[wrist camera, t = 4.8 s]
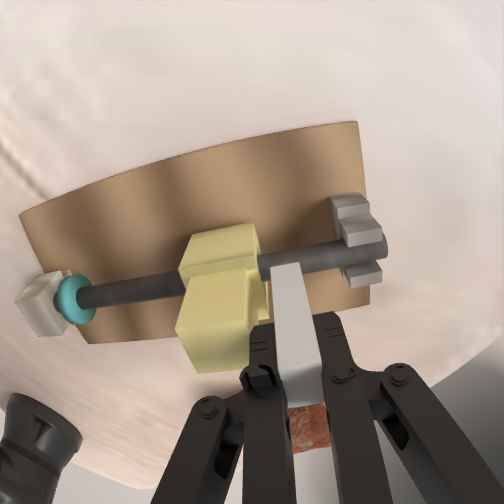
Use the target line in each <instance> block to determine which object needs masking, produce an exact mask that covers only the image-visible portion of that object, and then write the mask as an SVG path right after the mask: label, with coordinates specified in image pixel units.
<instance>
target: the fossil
mask: <svg viewBox="0 0 504 504" xmlns="http://www.w3.org/2000/svg"><path fill="white" fill-rule="evenodd" d="M288 413H289V418H290V423H291V435H292V448H293V454H297V453H301V452H304V451H307V450H311V449H315V448H323V447H324V448H325V447H330V446H331V440H330V434H329V428H328V423H327V418H326V406H325V404H324V403H318V404H313V405H307V406H301V407H295V408H288Z"/></svg>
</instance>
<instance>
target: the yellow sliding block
mask: <svg viewBox="0 0 504 504" xmlns="http://www.w3.org/2000/svg"><path fill="white" fill-rule="evenodd" d="M257 255H261V250H260V246H259V241H258V237H257V233H256V229H255V225H254V222H250V223H245V224H240V225H235V226H230V227H225V228H220V229H216V230H211V231H206V232H201V233H197V234H192V236H191V239H190V241H189V243H188V246H187V248H186V251H185V253H184V256H183V258H182V261H181V263H180V266H179V268H178V271H179V273H180V276H181V278H182V281H183V283H184V286H185V288H186V293H185V297H184V300H183V303H182V306H181V310H180V313H179V316H178V320H177V323H176V326H175V331H176V333H177V335H178V337H179V339H180V341H181V343H182V345H183V347H184V349H185V351H186V353H187V355H188V356H189V358H190V360H191V362H192V364H193V366H194V368H195V369H196V371H197V373H209V372H220V371H229V370H238V369H244V368H245V367H246V366H248V365H249V345H250V344H249V334H250V333H251V331H252V329H253V327H254V326H256V325H259V320H264V319H269V303H268V285H267V281H265V282H262V280H261V276H260V272H259V268H258V264H257Z"/></svg>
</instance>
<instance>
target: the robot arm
mask: <svg viewBox="0 0 504 504" xmlns="http://www.w3.org/2000/svg"><path fill="white" fill-rule="evenodd" d="M270 271H271V283H272V296H273V308H274V321H275V322H274V323H268V324H262V325H256V326H254V327H253V329H252V331H251V333H250V334H249V344H250V345H249V365H248V366H246V367H245V368H244V369H243V370H242V372H241V374H240V377H239V379H240V381H241V383H242V386H243V388H244V389H243V390H242V391H241V392H239V393H238V394H236V395H234V396H231V397H229V398H226V399H223V400H222V399H221V398H219V397H216V396H207V397H204V398H201V399H200V400H198V401H197V402H196V403H195V405H194V406H193V408H192V410H191V412H190V414H189V417H188V419H187V421H186V424H185V426H184V428H183V430H182V433H181V435H180V437H179V440H178V442H177V444H176V446H175V449H174V451H173V453H172V455H171V458H170V460H169V462H168V465H167V467H166V469H165V471H164V474H163V476H162V478H161V480H160V483H159V485H158V487H157V489H156V492H155V494H154V496H153V498H152V501H151V503H150V504H224V501H225V499H226V496H227V493H228V490H229V486H230V484H231V481H232V478H233V475H234V471H235V468H236V465H237V462H238V459H239V456H240V453H241V449H242V446H243V443H244V446H243V491H242V492H243V493H242V494H243V495H242V504H297V501H296V487H295V473H294V460H293V448H292V435H291V423H290V418H289V413H288V408H295V407H301V406H307V405H313V404H318V403H324V402H325V406H326V418H327V423H328V428H329V434H330V440H331V447H332V453H333V460H334V467H335V473H336V480H337V487H338V495H339V503H340V504H393V501H392V497H391V492H390V487H389V482H388V478H387V473H386V469H385V465H384V460H383V456H382V452H381V448H380V444H379V440H378V436H377V432H376V429H375V425H374V421H373V420H377V422H378V423H379V425H380V427H381V428H382V430H383V432H384V433H385V435H386V436H387V438H388V440H389V441H390V443H391V445H392V446H393V448H394V450H395V451H396V453H397V454H398V456H399V458H400V460H401V461H402V463H403V465H404V466H405V468H406V470H407V471H408V473H409V475H410V476H411V478H412V479H413V481H414V483H415V485H416V486H417V488H418V490H419V491H420V493H421V495H422V497H423V498H424V500H425V502H426V503H427V504H504V489H503V487H502V486H501V485H500V483H499V482H498V480H497V479H496V477H495V476H494V474H493V473H492V471H491V470H490V469H489V467H488V466H487V464H486V463H485V461H484V460H483V459H482V457H481V456H480V454H479V453H478V452H477V450H476V449H475V448H474V446H473V445H472V443H471V442H470V441H469V440H468V438H467V437H466V435H465V434H464V433H463V431H462V430H461V429H460V427H459V426H458V425H457V423H456V422H455V421H454V419H453V418H452V417H451V415H450V414H449V413H448V412H447V410H446V409H445V408H444V406H443V405H442V404H441V402H440V401H439V400H438V399H437V397H436V396H435V395H434V394H433V392H432V391H431V390H430V388H429V387H428V386H427V385H426V383H425V382H424V381H423V380H422V378H421V377H420V376H419V375H418V373H417V372H416V371H415V370H414V369H413V368H412V367H411V366H410V365H407V364H404V363H395V364H392V365H390V366H388V367H387V368H386V369H385V370H384V371H383V372H376V371H366V370H363V369H361V368H360V367H358V366H357V365H356V364H355V363H354V360H353V358H352V355H351V351H350V348H349V345H348V342H347V339H346V335H345V332H344V329H343V326H342V323H341V320H340V317H339V316H338V315H337V314H335V313H334V312H333V311H330V312H325V313H319V314H314V315H311V310H310V306H309V302H308V297H307V293H306V289H305V284H304V280H303V276H302V272H301V268H300V264H299V262H296V263H291V264H285V265H280V266H275V267H270ZM82 440H83V438H82V436H81V434H80V433H79V431H78V430H77V429H76V428H75V427H74V426H73V425H72V424H70V423H69V422H68V421H67V420H65V419H64V418H63V417H61V416H60V415H59V414H57V413H56V412H54V411H53V410H51V409H49V408H48V407H46V406H44V405H43V404H41V403H39V402H37V401H35V400H33V399H31V398H28V397H26V396H23V395H19V394H14V395H12V396H11V398H10V400H9V402H8V404H7V411H6V417H5V426H4V434H3V437H2V440H1V442H0V504H52V502H53V498H54V495H55V491H56V488H57V484H58V481H59V477H60V474H61V472H62V470H63V468H64V467H65V466H66V465H67V463H68V462H69V461H70V460H71V458H72V457H73V455H74V454H75V453H77V452H78V451H79V449H80V446H81V443H82Z"/></svg>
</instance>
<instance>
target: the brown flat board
mask: <svg viewBox="0 0 504 504" xmlns="http://www.w3.org/2000/svg"><path fill="white" fill-rule="evenodd" d="M19 217H20V220H21V222H22V225H23V227H24V229H25V231H26V234H27V236H28V238H29V240H30V243H31V245H32V247H33V249H34V251H35V253H36V255H37V257H38V259H39V261H40V263H41V265H42V267H43V269H44V271H45V273H46V274H42V275H38V276H36V278H35V279H34V280H33V281H32V282H31V283H30V284H29V285H28V286H27V288H26V289H25V290H24V291H23V292H22V293H21V294H20V296H19V297H18V298H17V299H16V300H15V302H16V304H17V305H18V307H19V309H20V310H21V312H22V313H23V315H24V317H25V318H26V320H27V321H28V323H29V324H30V326H31V327H32V329H33V330H34V332H35V333H36V335H37V336H38V337H43V336H61V335H62V334H63V332H64V331H65V329H66V327H67V326H68V324H69V323H71V324H74V325H76V326H77V328H78V329H79V331H80V333H81V334H82V336H83V337H84V339H85V340H86V342H87V343H88V344H97V343H113V342H127V341H139V340H150V339H160V338H170V337H178V335H177V333H176V331H175V326H176V323H177V320H178V316H179V313H180V310H181V306H182V303H183V300H184V297H185V293H186V288H185V286H184V283H183V281H182V278H181V276H180V273H179V271H178V268H179V266H180V263H181V261H182V258H183V256H184V253H185V251H186V248H187V246H188V243H189V241H190V239H191V236H192V234H197V233H201V232H206V231H211V230H216V229H220V228H225V227H230V226H235V225H240V224H245V223H250V222H254V225H255V229H256V233H257V237H258V241H259V246H260V250H261V255H257V264H258V268H259V272H260V276H261V280H262V282H265V281H267V285H268V303H269V319H264V320H259V325H262V324H268V323H274V322H275V321H274V308H273V296H272V283H271V271H270V267H275V266H280V265H285V264H291V263H296V262H299V264H300V268H301V272H302V276H303V280H304V284H305V289H306V293H307V297H308V302H309V306H310V310H311V315H314V314H319V313H325V312H330V311H333V312H337V311H342V310H346V309H351V308H356V307H360V306H365V305H369V304H370V285H371V284H376V283H380V282H382V270H381V268H380V266H379V265H378V263H377V262H376V260H378V259H383V258H386V257H387V255H388V246H387V241H386V238H385V236H384V234H383V232H382V227H381V226H380V225H379V223H378V222H377V221H376V220H375V219H374V218H373V216H372V215H371V214H370V205H369V202H368V201H367V200H366V188H365V177H364V167H363V159H362V150H361V142H360V135H359V128H358V122H357V121H349V122H341V123H333V124H326V125H319V126H313V127H306V128H300V129H294V130H289V131H283V132H278V133H273V134H267V135H262V136H257V137H253V138H248V139H243V140H239V141H234V142H230V143H226V144H222V145H217V146H213V147H209V148H205V149H201V150H198V151H194V152H190V153H186V154H183V155H179V156H176V157H172V158H169V159H165V160H162V161H158V162H155V163H152V164H148V165H145V166H142V167H139V168H136V169H133V170H130V171H127V172H124V173H121V174H118V175H115V176H112V177H109V178H106V179H103V180H101V181H98V182H95V183H92V184H90V185H87V186H84V187H82V188H79V189H77V190H74V191H72V192H69V193H67V194H64V195H62V196H59V197H57V198H54V199H52V200H50V201H47V202H45V203H43V204H40V205H38V206H36V207H33V208H31V209H29V210H27V211H25V212H22V213H21V214H20V215H19Z"/></svg>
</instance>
